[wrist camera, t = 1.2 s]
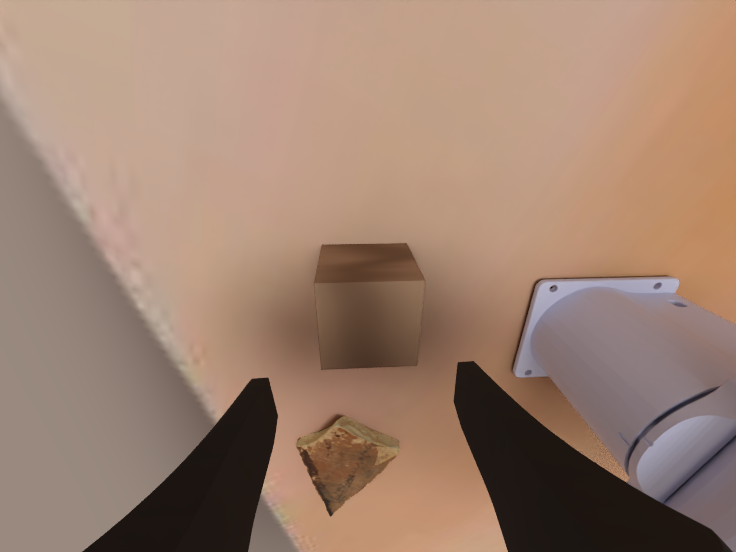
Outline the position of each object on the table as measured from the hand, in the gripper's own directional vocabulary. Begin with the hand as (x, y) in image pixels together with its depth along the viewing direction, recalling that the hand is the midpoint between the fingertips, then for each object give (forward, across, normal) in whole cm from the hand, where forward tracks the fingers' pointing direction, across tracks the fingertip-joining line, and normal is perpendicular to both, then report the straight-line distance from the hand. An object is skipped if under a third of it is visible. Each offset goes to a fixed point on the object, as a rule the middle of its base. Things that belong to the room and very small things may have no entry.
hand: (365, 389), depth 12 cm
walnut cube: (+9, 0, 0) cm, 9 cm away
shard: (+9, +1, +17) cm, 19 cm away
